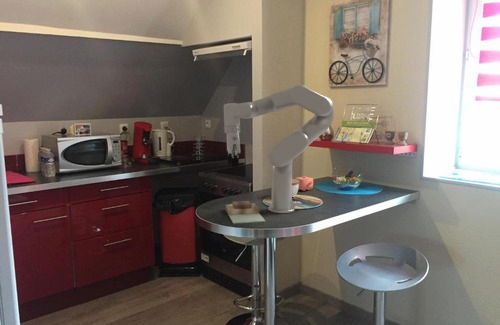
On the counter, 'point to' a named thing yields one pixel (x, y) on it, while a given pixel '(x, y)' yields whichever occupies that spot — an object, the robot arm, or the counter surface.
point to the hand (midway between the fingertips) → (233, 164)
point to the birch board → (242, 210)
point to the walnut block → (242, 205)
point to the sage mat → (246, 218)
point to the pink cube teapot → (305, 183)
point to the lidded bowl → (295, 187)
